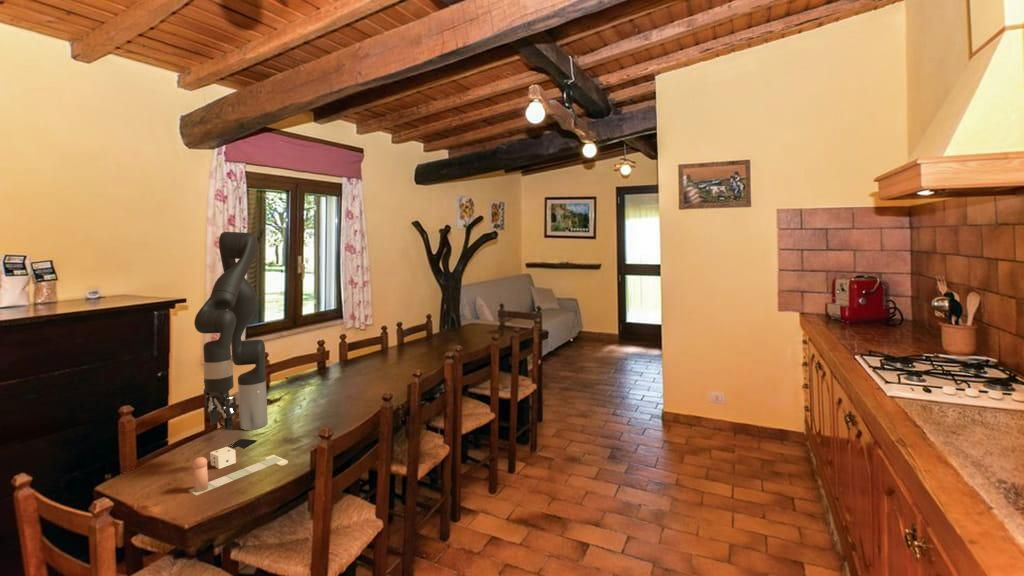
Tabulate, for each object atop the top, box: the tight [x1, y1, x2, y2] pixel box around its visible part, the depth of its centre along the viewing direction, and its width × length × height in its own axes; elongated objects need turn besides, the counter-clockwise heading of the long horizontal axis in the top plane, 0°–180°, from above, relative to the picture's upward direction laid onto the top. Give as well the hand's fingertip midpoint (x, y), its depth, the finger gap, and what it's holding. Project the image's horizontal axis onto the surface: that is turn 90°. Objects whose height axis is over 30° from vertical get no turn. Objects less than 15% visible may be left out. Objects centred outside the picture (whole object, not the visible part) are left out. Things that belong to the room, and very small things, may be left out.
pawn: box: [192, 456, 209, 492], centre depth 128 cm, size 3×3×9 cm
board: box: [187, 454, 289, 496], centre depth 137 cm, size 8×26×1 cm, turn 148°
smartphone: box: [208, 438, 258, 458], centre depth 156 cm, size 7×1×15 cm
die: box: [209, 446, 237, 470], centre depth 143 cm, size 5×5×5 cm
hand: (221, 425), depth 142 cm, fingers open, 8 cm apart
